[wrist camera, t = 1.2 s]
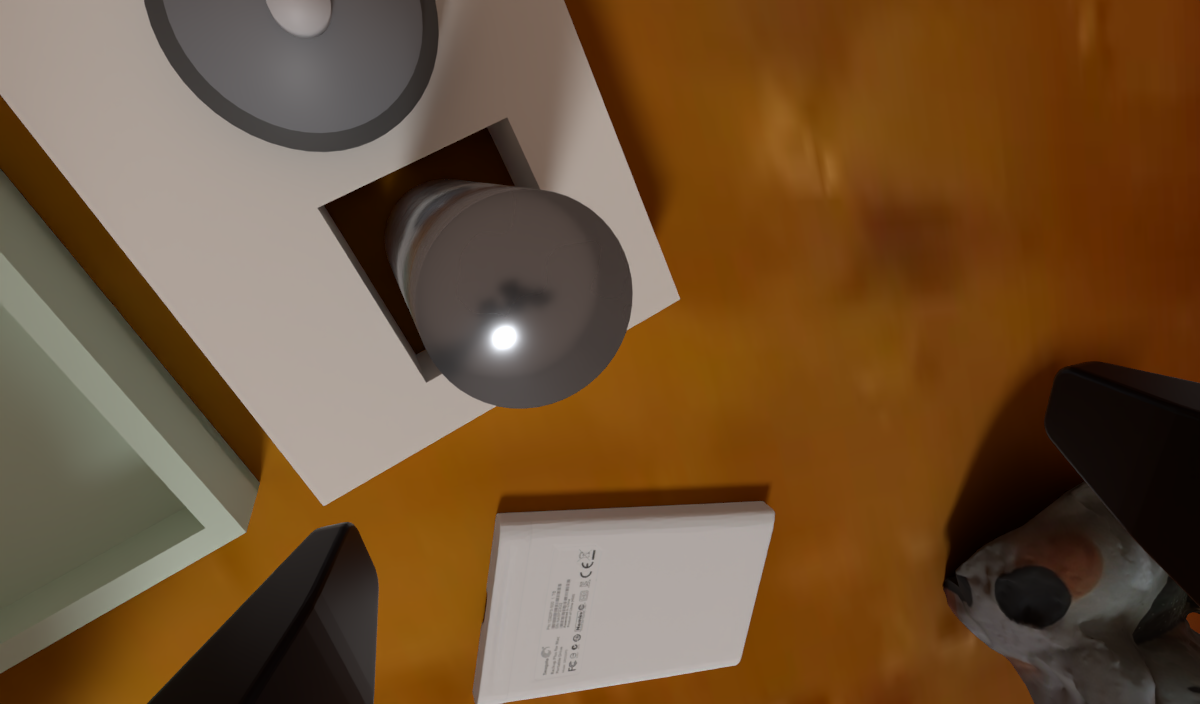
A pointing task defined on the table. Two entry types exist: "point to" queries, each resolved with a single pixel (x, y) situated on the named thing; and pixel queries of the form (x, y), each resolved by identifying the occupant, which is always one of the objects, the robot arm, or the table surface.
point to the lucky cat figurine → (1081, 609)
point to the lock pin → (510, 288)
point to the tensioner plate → (309, 180)
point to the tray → (92, 450)
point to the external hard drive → (617, 596)
